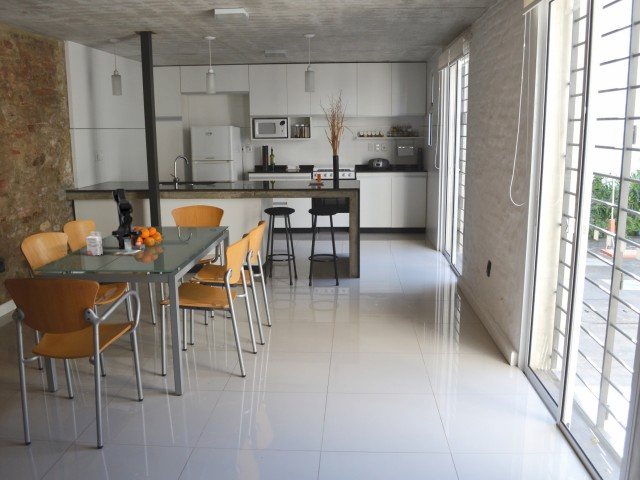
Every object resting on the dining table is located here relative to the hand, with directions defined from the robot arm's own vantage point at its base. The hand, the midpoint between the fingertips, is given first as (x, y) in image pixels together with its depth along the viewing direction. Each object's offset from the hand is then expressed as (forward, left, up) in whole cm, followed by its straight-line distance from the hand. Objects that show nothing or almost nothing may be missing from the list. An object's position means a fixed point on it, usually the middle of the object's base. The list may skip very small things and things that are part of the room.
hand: (128, 246), depth 386 cm
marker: (0, 0, -3) cm, 3 cm away
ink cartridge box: (-20, -7, -5) cm, 22 cm away
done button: (0, +11, -2) cm, 12 cm away
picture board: (0, 0, -5) cm, 5 cm away
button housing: (0, +11, -5) cm, 12 cm away
